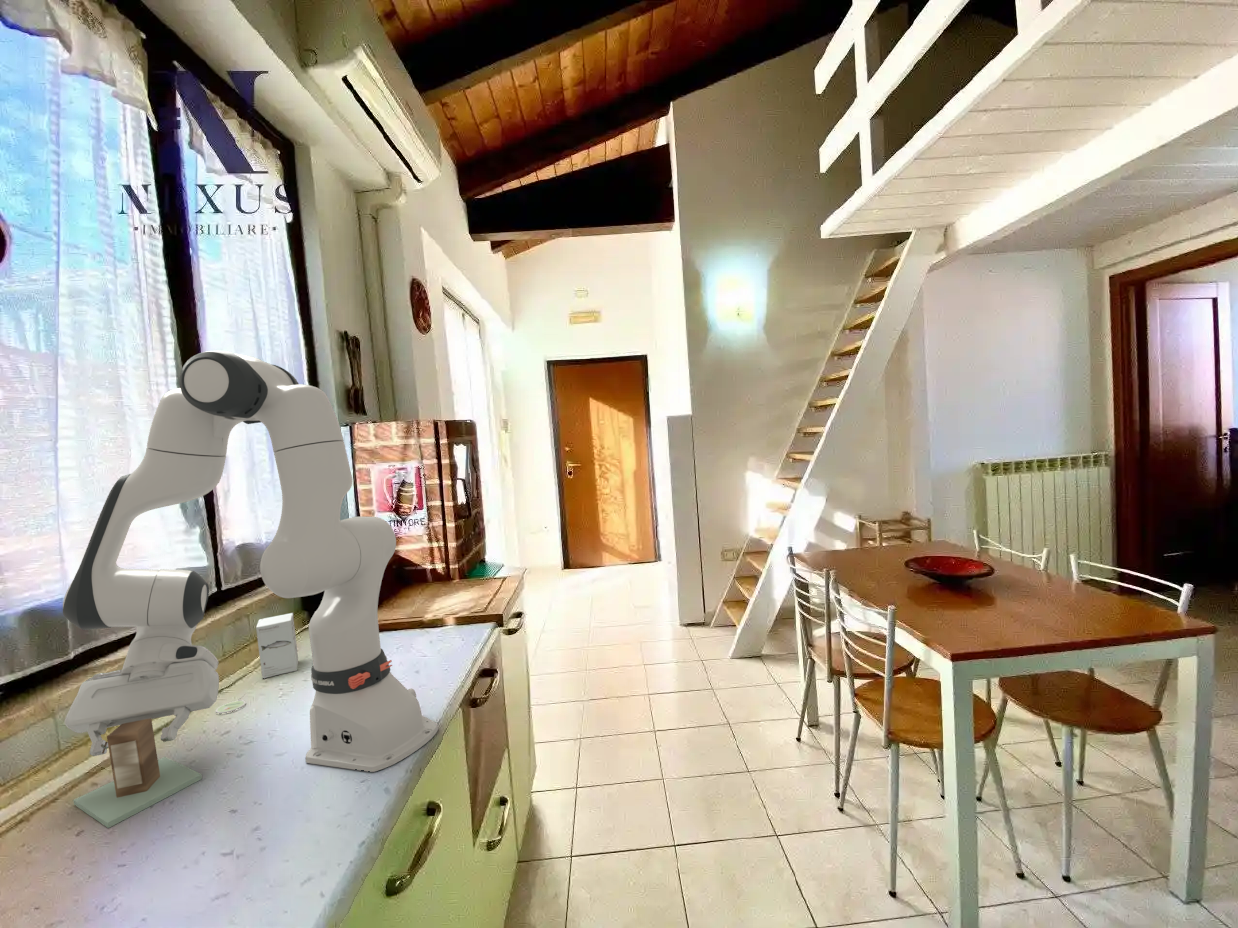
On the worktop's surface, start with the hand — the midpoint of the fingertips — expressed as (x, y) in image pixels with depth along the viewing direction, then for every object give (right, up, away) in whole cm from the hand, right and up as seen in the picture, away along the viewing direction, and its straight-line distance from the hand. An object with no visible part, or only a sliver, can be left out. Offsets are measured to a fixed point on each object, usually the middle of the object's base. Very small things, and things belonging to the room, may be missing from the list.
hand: (133, 747), depth 88 cm
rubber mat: (+1, -7, 0) cm, 7 cm away
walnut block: (+1, -7, 0) cm, 7 cm away
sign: (-4, -6, +32) cm, 33 cm away
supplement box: (-4, -5, +45) cm, 46 cm away
